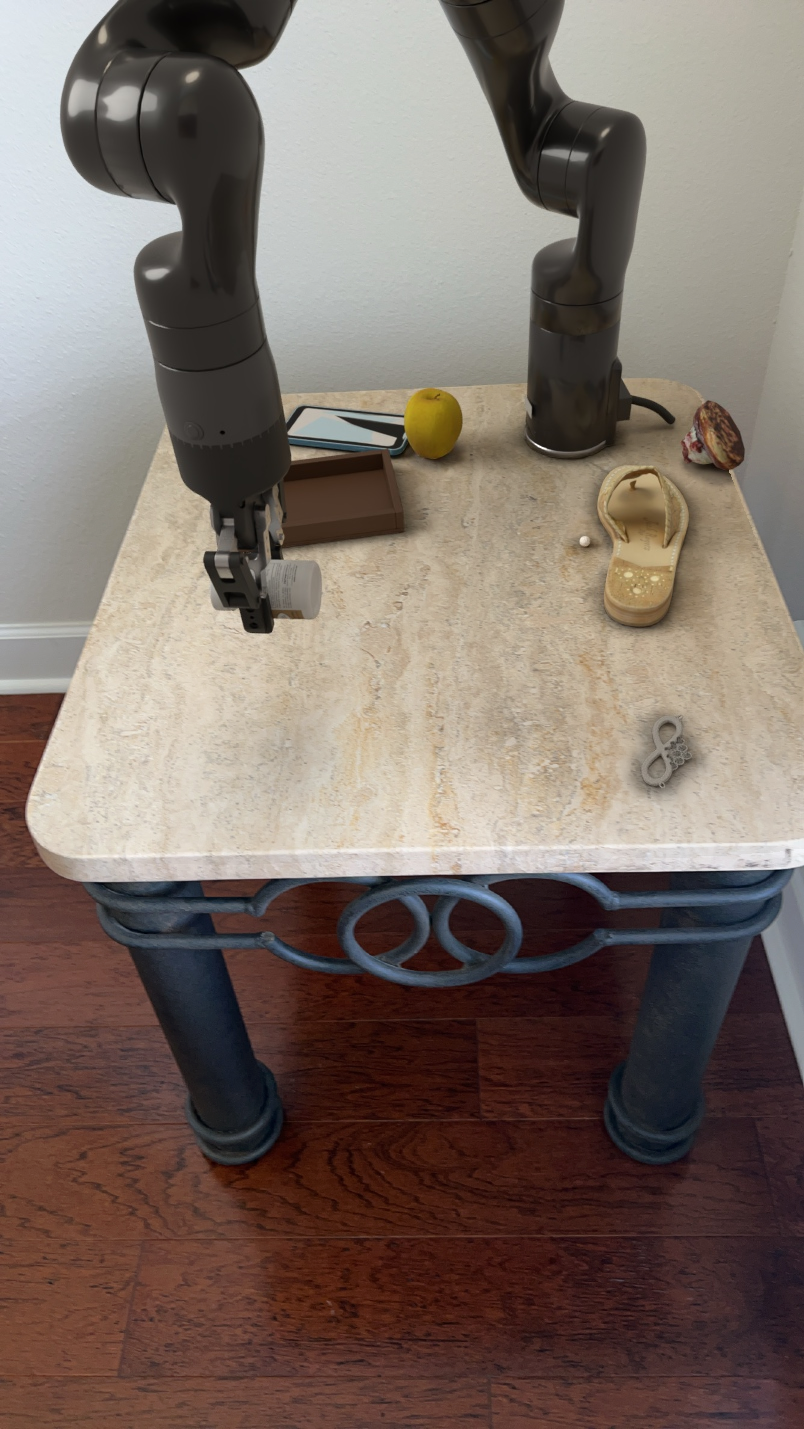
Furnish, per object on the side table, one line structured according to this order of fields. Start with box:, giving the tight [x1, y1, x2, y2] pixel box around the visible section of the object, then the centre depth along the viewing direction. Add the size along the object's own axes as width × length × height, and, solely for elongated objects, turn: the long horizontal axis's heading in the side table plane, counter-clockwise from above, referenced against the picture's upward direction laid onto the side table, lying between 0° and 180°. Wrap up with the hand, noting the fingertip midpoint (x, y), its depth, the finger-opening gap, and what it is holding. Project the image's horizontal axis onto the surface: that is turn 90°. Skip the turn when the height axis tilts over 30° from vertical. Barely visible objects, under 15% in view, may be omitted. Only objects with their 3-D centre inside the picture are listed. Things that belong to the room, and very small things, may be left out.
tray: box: [238, 449, 405, 553], centre depth 109 cm, size 18×12×2 cm, turn 98°
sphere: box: [579, 535, 599, 595], centre depth 101 cm, size 1×8×1 cm, turn 3°
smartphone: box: [285, 404, 409, 456], centre depth 119 cm, size 7×1×15 cm
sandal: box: [596, 464, 690, 628], centre depth 100 cm, size 13×23×8 cm, turn 150°
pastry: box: [679, 399, 746, 471], centre depth 110 cm, size 8×8×5 cm
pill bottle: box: [208, 559, 323, 621], centre depth 78 cm, size 4×4×8 cm
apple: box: [403, 387, 464, 460], centre depth 112 cm, size 6×6×8 cm
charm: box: [640, 714, 693, 789], centre depth 84 cm, size 8×1×4 cm
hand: (267, 606), depth 79 cm, fingers closed on pill bottle, 4 cm apart
